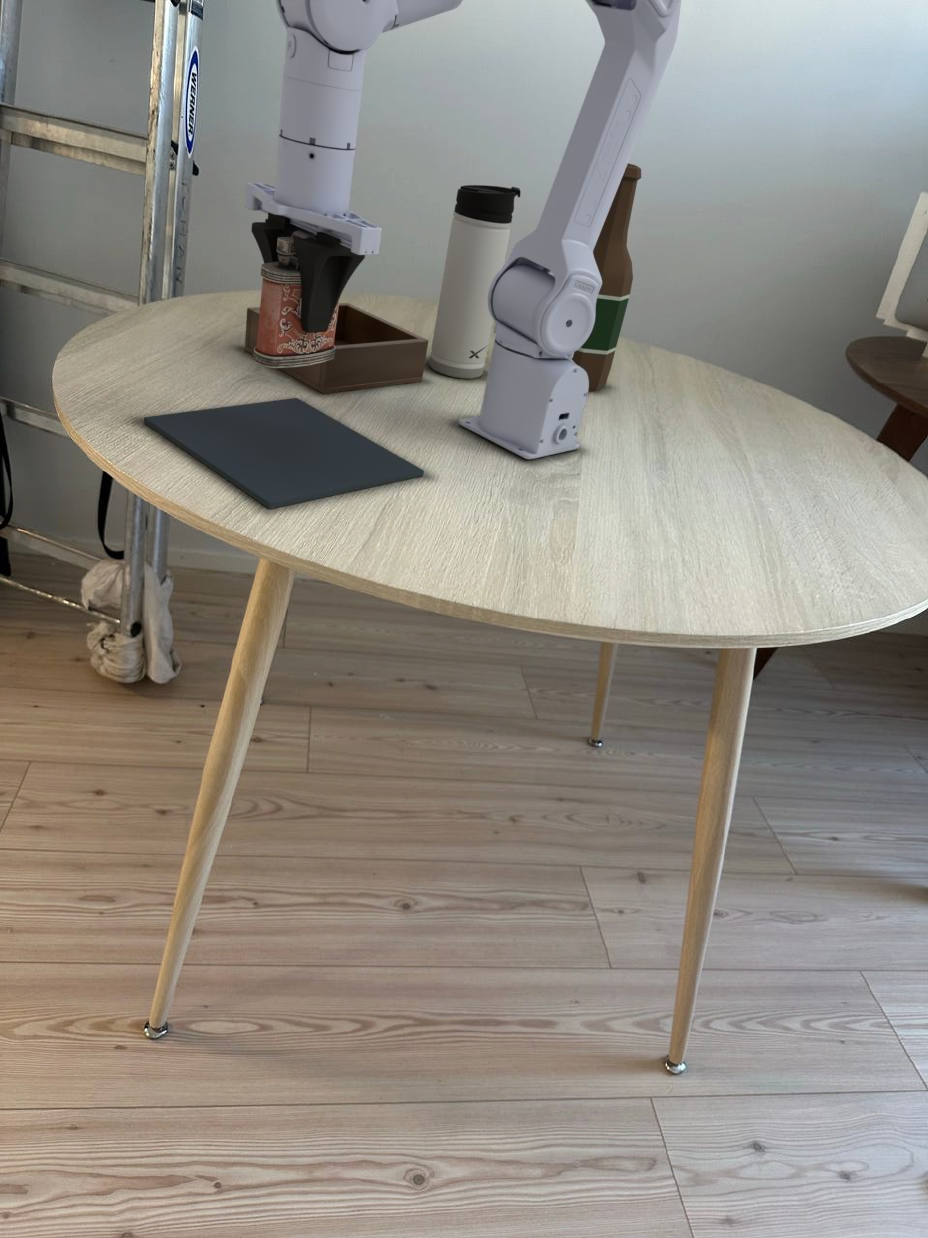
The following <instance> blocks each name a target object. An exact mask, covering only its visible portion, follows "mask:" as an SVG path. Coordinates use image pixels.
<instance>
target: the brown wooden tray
mask: <svg viewBox="0 0 928 1238" xmlns="http://www.w3.org/2000/svg"><path fill="white" fill-rule="evenodd" d="M246 309H247V310H246V321H245V322H246V323H245V334H244V335H245V337H244V346H243V347H244V349H243V350H244V351H245V352H247V353H249V354H251V355H253V354H254V348H255V347H257V336H258V325H259V314H260V306H255V307H247V308H246ZM334 346H335V355H334V359H332V360H328V361H325V362H322V363H317V364H312V365H307V366H298V367H286V368H277V369H278V370H280V371H281V372H284V373H285V374H287V375H289V376H291V377H292V378H294V379H296V380H298V381H300V382H302V383H303V384H305V385H306V386H309V387H311V388H312V389H314V390H316V391H317V392H320V393H321V394H323V395H324V394H332V393H339V392H347V391H355V390H363V389H371V388H379V387H386V386H396V385H403V384H412V383H419V382H423V379H424V372H425V371H424V370H425V365H426V360H427V359H426V358H427V353H428V348H429V340H428V339H426V338H424V337H422V336H420V335H418V334H416V333H414V332H412V331H409V330H408V329H405V328H403V327H402V326H401V327H400V326H398V325H396V324H394V323H392V322H390V321H388V320H385V319H384V318H381V317H379V316H377V315H375V314H373V313H370V312H369V311H367V310H364V309H363V308H359V307H358V306H355V305H353V304H351V303H349V302H339V308H338V315H337V323H336V330H335V338H334Z"/></svg>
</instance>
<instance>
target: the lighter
mask: <svg viewBox="0 0 928 1238" xmlns="http://www.w3.org/2000/svg"><path fill="white" fill-rule="evenodd" d="M316 236H317V234H313V236H312V235H309V234H307V233H304V232H302V231H295V232H293V234H292V236H291V237H279V238H278V241H277V252H278V259H279V261H278V262H271V263H264V262H263V263H262V264H261V266H260V277H261V278H262V280H261V281H262V283H261V291H260V292H261V293H260V306H259V307H260V314H259V325H258V336H257V347H255V348H254V354H252V361H253V362H254V363H255V364H257V365H259V366H262V367H265V368H271V369H278V368H286V367H298V366H307V365H312V364H317V363H322V362H325V361H328V360H332V359H334V355H335V346H334V338H335V330H336V323H337V315H338V308H339V303H340V298H341V297H340V298H339V300H338V303H337V305H336V308H335V311H334V313H333V316H332V319H331V321H330V324H329V327H328V329H327V332H316V333H307V332H305V331H303V330H302V324H301V294H302V288H301V276H300V268H299V263H298V258H297V254H296V251H295V247H294V245H293V242H294V238H296V239H316Z"/></svg>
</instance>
